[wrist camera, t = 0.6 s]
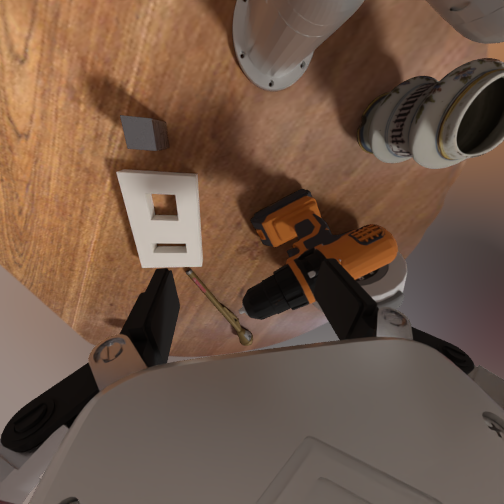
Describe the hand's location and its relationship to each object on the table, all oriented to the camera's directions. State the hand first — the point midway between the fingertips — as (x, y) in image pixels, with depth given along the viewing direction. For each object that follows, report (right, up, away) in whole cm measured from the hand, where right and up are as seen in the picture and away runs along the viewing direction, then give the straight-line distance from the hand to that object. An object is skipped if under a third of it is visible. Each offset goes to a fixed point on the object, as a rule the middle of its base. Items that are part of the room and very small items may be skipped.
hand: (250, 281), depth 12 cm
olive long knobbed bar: (-8, -15, +46) cm, 49 cm away
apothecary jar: (+25, +27, +25) cm, 45 cm away
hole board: (-18, +9, +29) cm, 35 cm away
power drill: (+5, +10, +32) cm, 34 cm away
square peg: (-16, +22, +21) cm, 34 cm away
